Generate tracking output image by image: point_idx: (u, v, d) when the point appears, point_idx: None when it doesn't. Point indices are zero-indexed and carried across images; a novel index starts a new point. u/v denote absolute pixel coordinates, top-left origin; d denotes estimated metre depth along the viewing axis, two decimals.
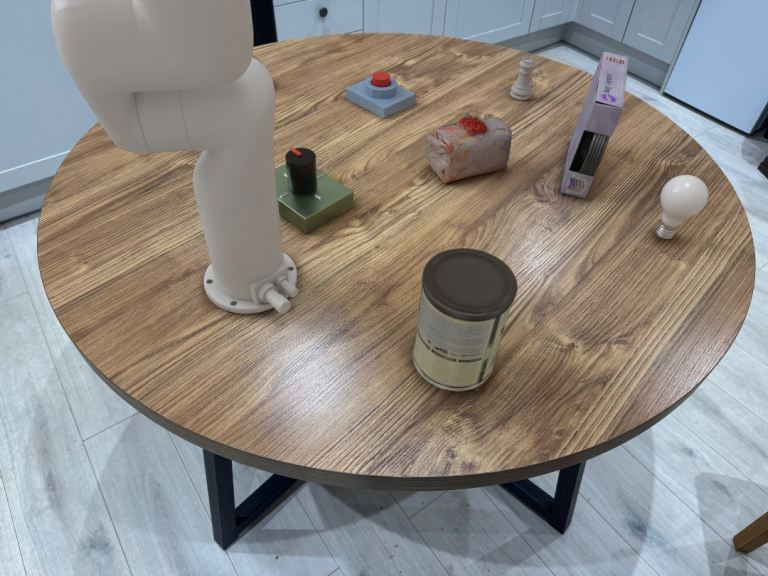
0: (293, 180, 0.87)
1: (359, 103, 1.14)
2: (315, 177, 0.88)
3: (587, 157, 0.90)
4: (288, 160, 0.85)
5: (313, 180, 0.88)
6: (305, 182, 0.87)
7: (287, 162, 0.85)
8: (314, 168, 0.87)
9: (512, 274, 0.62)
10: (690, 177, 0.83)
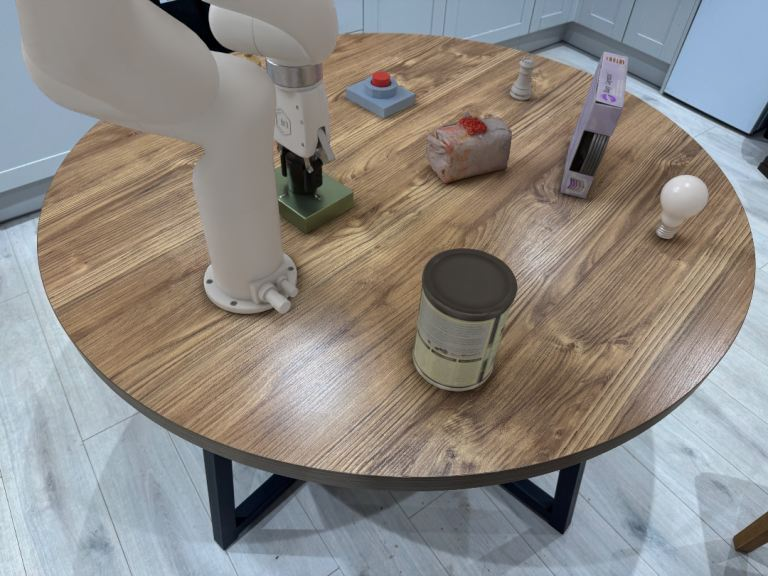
0: (293, 180, 0.87)
1: (359, 103, 1.14)
2: None
3: (587, 157, 0.90)
4: (288, 160, 0.85)
5: None
6: None
7: (287, 162, 0.85)
8: None
9: (512, 274, 0.62)
10: (690, 177, 0.83)
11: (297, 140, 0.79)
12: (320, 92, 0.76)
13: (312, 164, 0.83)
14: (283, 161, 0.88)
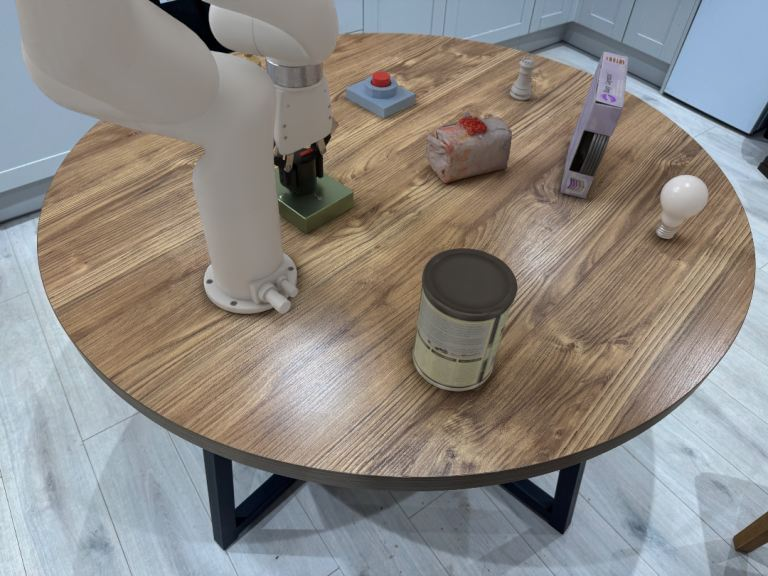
0: None
1: (359, 103, 1.14)
2: None
3: (587, 157, 0.90)
4: None
5: None
6: None
7: None
8: None
9: (512, 274, 0.62)
10: (690, 177, 0.83)
11: None
12: None
13: None
14: None
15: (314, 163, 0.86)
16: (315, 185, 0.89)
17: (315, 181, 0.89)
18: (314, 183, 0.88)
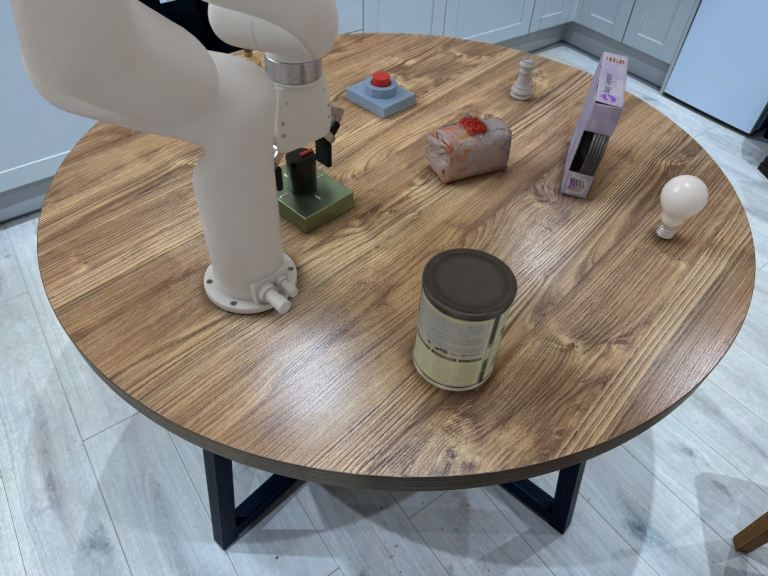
0: None
1: (359, 103, 1.14)
2: (295, 182, 0.87)
3: (587, 157, 0.90)
4: None
5: (292, 181, 0.87)
6: (287, 175, 0.88)
7: (293, 150, 0.88)
8: (293, 172, 0.86)
9: (512, 274, 0.62)
10: (690, 177, 0.83)
11: None
12: None
13: None
14: (315, 143, 0.89)
15: (314, 163, 0.86)
16: (315, 185, 0.89)
17: (315, 181, 0.89)
18: (314, 182, 0.88)
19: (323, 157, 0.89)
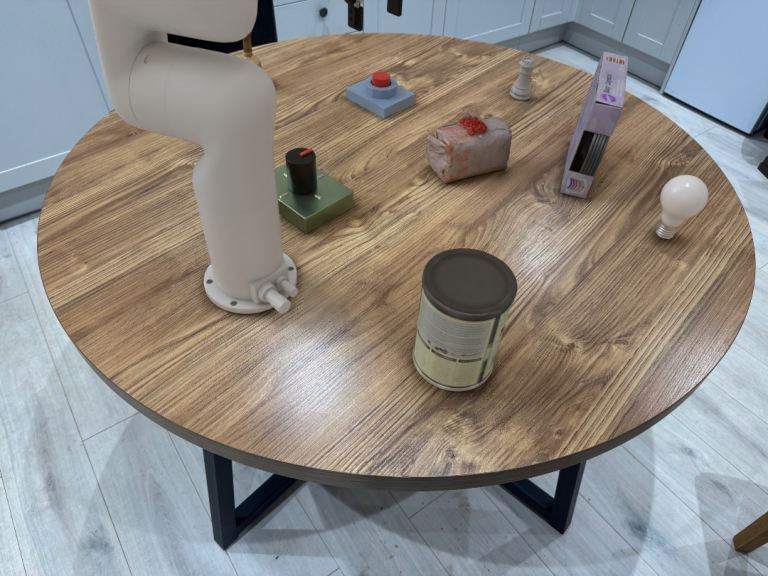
0: None
1: (359, 103, 1.14)
2: (295, 182, 0.87)
3: (587, 157, 0.90)
4: (293, 149, 0.87)
5: (292, 181, 0.87)
6: (287, 175, 0.88)
7: None
8: (293, 172, 0.86)
9: (512, 274, 0.62)
10: (690, 177, 0.83)
11: None
12: None
13: None
14: None
15: (314, 163, 0.86)
16: (315, 185, 0.89)
17: (315, 181, 0.89)
18: (314, 182, 0.88)
19: (394, 7, 1.02)
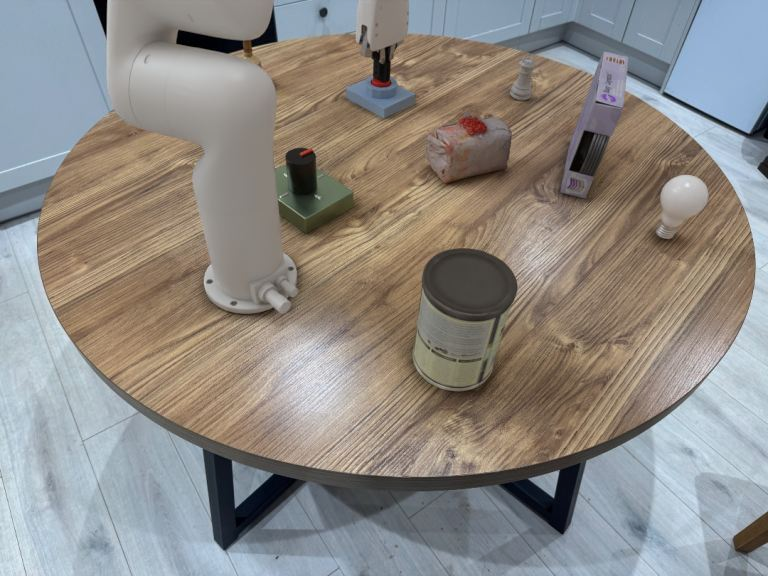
0: None
1: (359, 103, 1.14)
2: (295, 182, 0.87)
3: (587, 157, 0.90)
4: (293, 149, 0.87)
5: (292, 181, 0.87)
6: (287, 175, 0.88)
7: None
8: (293, 172, 0.86)
9: (512, 274, 0.62)
10: (690, 177, 0.83)
11: None
12: None
13: None
14: None
15: (314, 163, 0.86)
16: (315, 185, 0.89)
17: (315, 181, 0.89)
18: (314, 182, 0.88)
19: None
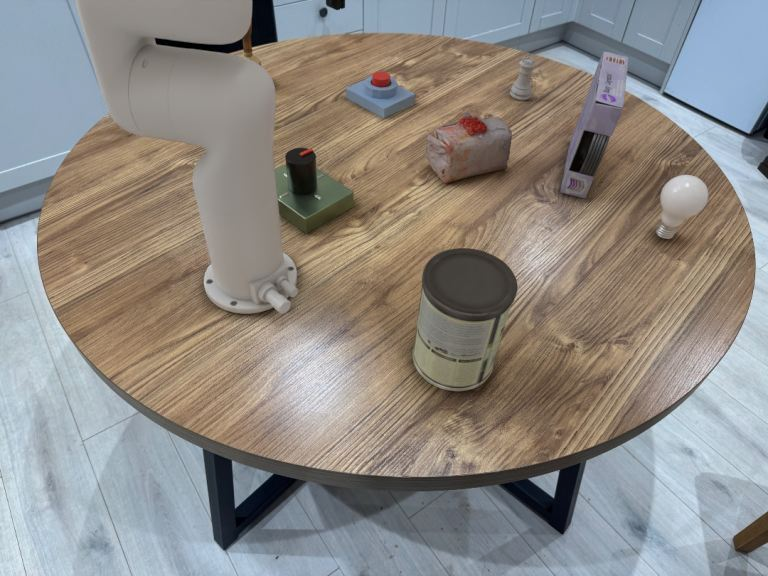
0: None
1: (359, 103, 1.14)
2: (295, 182, 0.87)
3: (587, 157, 0.90)
4: (293, 149, 0.87)
5: (292, 181, 0.87)
6: (287, 175, 0.88)
7: None
8: (293, 172, 0.86)
9: (512, 274, 0.62)
10: (690, 177, 0.83)
11: None
12: None
13: None
14: None
15: (314, 163, 0.86)
16: (315, 185, 0.89)
17: (315, 181, 0.89)
18: (314, 182, 0.88)
19: None
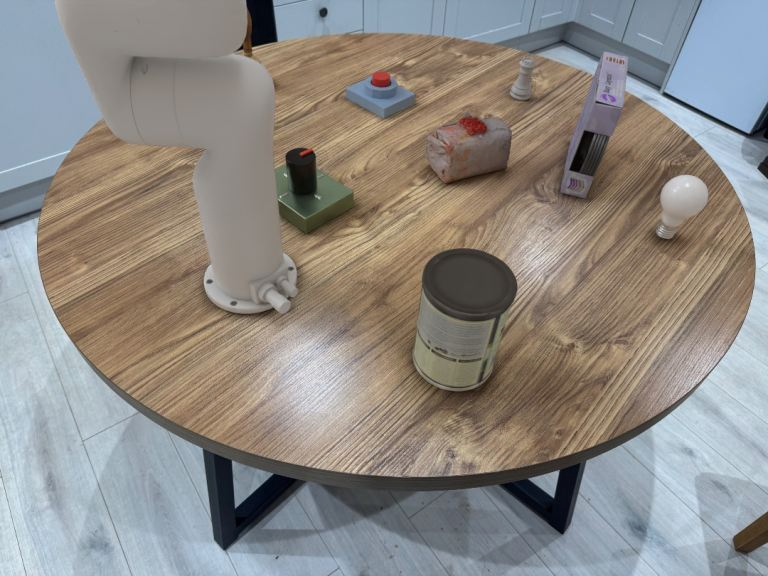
0: None
1: (359, 103, 1.14)
2: (295, 182, 0.87)
3: (587, 157, 0.90)
4: (293, 149, 0.87)
5: (292, 181, 0.87)
6: (287, 175, 0.88)
7: None
8: (293, 172, 0.86)
9: (512, 274, 0.62)
10: (690, 177, 0.83)
11: None
12: None
13: None
14: None
15: (314, 163, 0.86)
16: (315, 185, 0.89)
17: (315, 181, 0.89)
18: (314, 182, 0.88)
19: None
